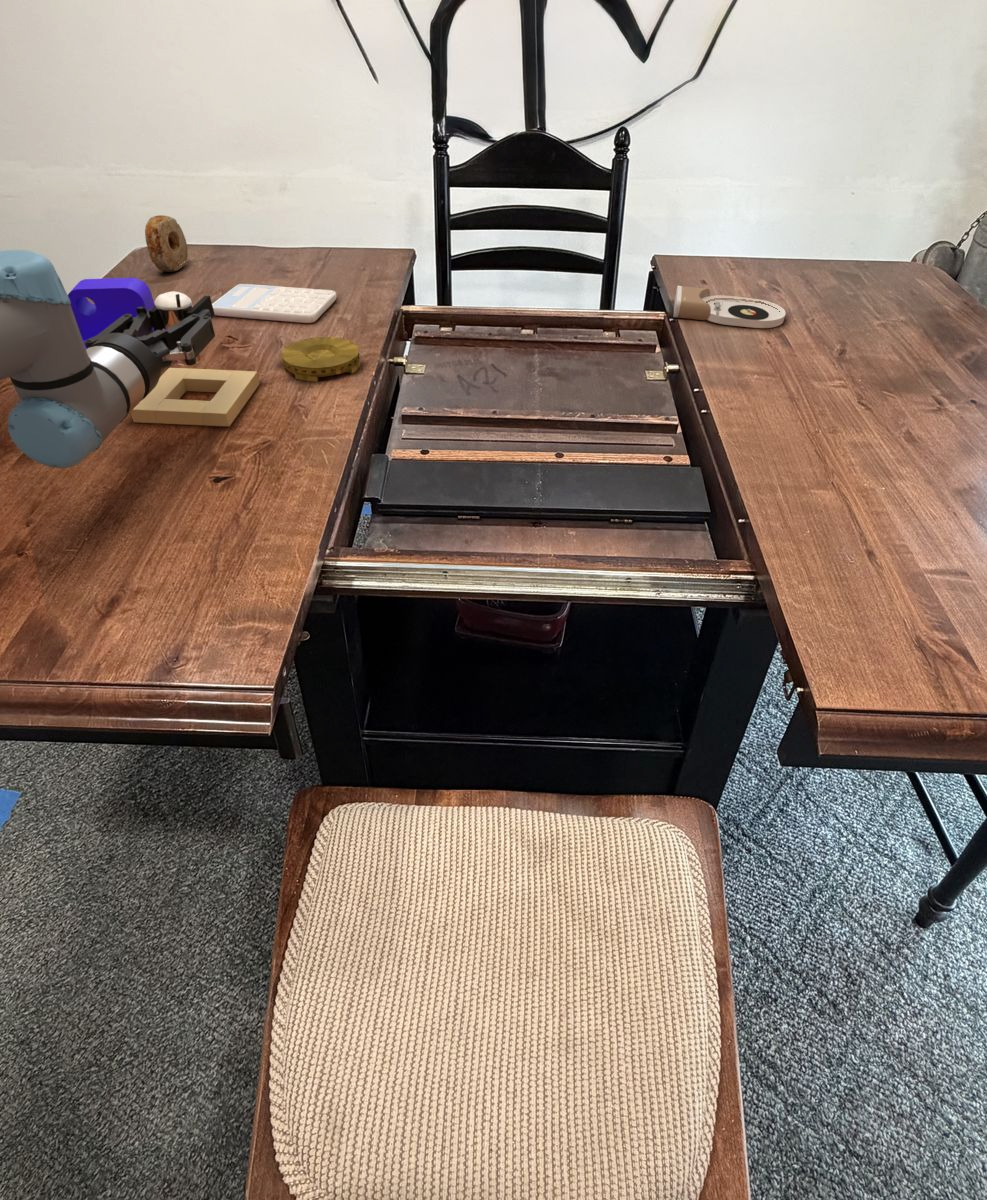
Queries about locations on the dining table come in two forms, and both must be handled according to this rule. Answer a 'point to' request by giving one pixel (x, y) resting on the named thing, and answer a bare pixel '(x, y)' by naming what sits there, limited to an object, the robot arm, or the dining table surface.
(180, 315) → the milkshake
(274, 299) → the calculator
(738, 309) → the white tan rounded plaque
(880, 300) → the dining table surface
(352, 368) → the olive flat round disc
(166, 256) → the stone disc
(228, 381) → the square frame
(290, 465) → the dining table surface
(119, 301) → the bracket
